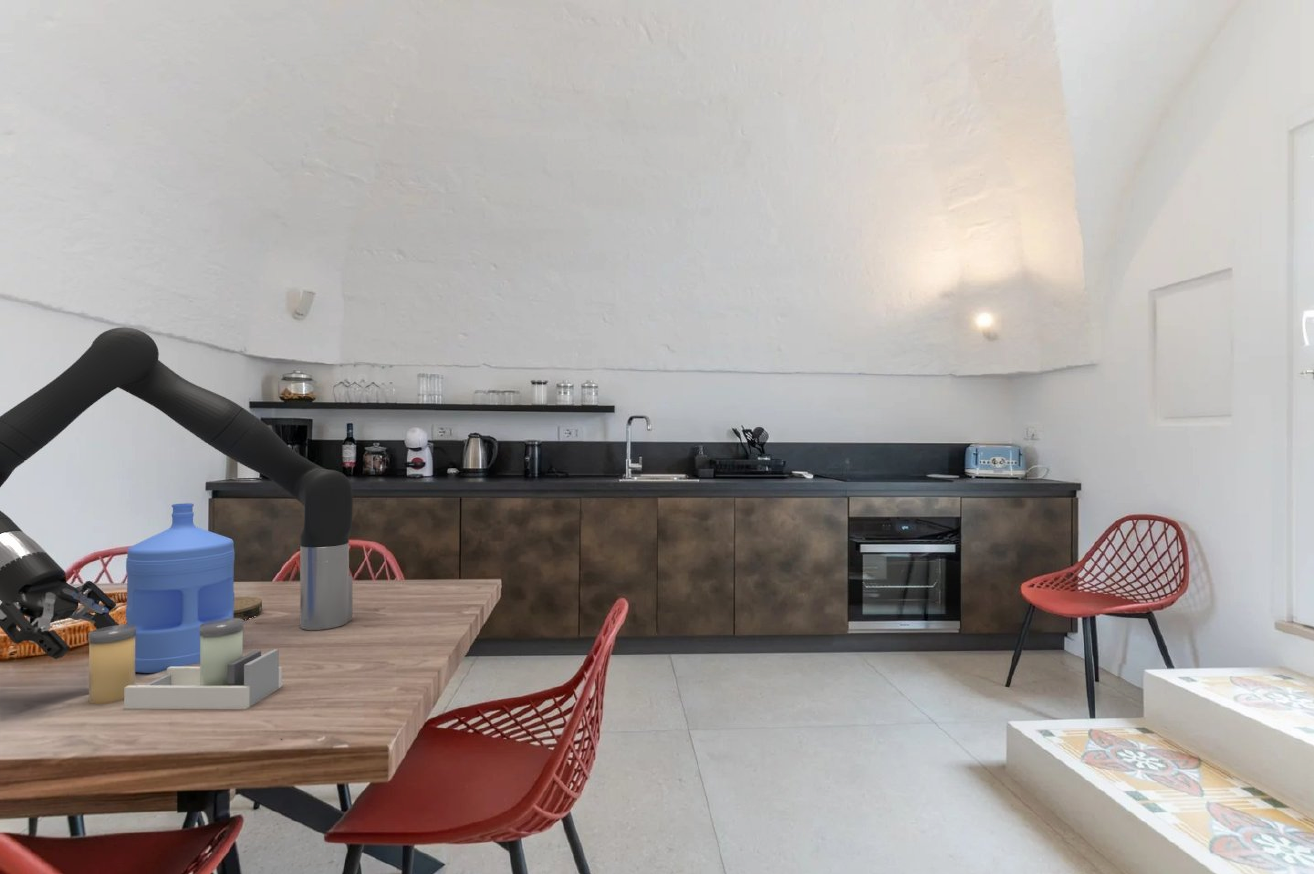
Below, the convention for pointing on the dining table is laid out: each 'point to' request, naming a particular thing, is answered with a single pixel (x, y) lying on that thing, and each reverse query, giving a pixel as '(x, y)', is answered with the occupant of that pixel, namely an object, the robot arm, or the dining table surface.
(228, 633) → the sage jar
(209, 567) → the water jug
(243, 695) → the jar lane
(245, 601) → the brown round flat disc
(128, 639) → the honey jar
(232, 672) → the block
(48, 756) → the dining table surface
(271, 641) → the dining table surface
